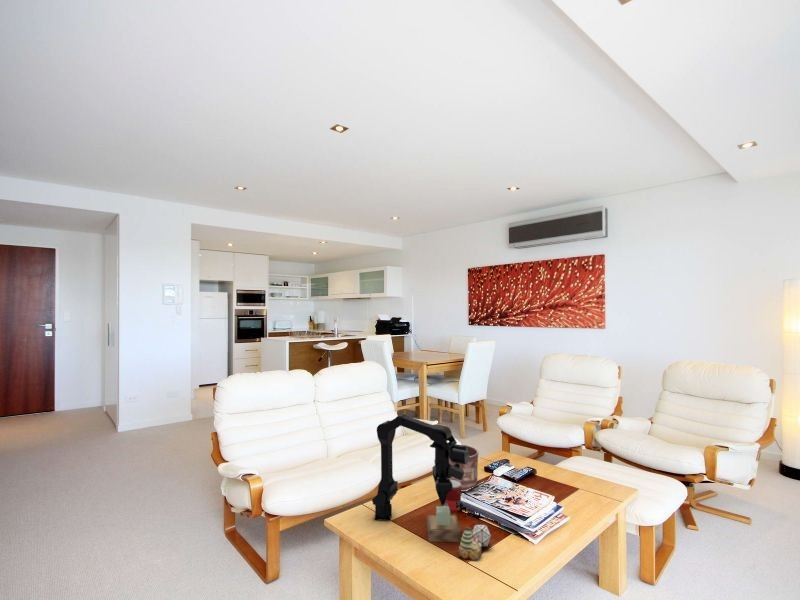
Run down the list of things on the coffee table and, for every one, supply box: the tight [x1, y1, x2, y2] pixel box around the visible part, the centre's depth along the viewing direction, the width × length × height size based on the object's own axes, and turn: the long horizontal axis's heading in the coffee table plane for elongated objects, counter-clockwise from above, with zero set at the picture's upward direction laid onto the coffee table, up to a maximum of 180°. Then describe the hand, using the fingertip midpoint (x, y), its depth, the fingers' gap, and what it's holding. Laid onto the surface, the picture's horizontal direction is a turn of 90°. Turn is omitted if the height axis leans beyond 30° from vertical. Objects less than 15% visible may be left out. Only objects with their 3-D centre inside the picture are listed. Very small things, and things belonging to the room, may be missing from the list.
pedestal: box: [426, 514, 462, 543], centre depth 169 cm, size 12×12×4 cm
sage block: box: [435, 505, 451, 525], centre depth 169 cm, size 5×5×5 cm
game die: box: [471, 522, 494, 549], centre depth 160 cm, size 9×8×10 cm
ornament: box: [458, 526, 482, 561], centre depth 154 cm, size 8×6×10 cm
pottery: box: [447, 445, 479, 490], centre depth 212 cm, size 18×18×18 cm
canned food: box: [442, 480, 462, 513], centre depth 190 cm, size 8×8×11 cm
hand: (441, 499), depth 170 cm, fingers open, 9 cm apart
